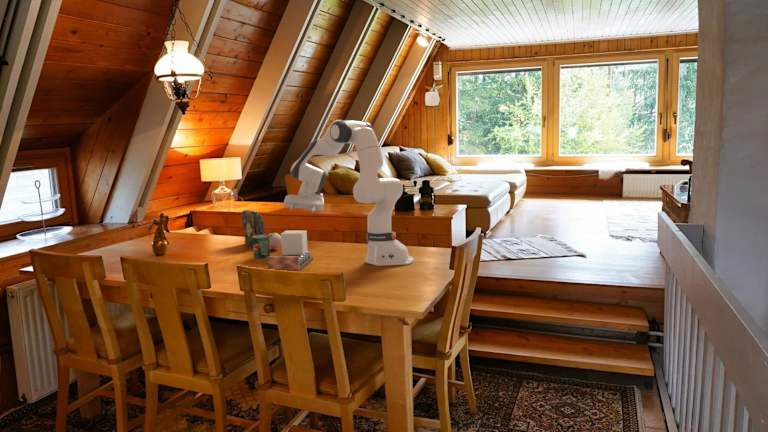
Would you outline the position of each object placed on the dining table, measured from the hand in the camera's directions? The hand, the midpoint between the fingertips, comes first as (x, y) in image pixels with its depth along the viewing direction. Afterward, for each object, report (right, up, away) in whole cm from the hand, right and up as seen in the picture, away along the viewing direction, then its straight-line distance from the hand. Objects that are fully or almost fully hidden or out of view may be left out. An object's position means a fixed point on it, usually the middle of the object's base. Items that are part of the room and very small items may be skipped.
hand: (302, 210), depth 291 cm
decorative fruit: (-17, -21, +15) cm, 31 cm away
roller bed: (-2, -26, -23) cm, 34 cm away
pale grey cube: (-1, -20, -16) cm, 26 cm away
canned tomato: (-19, -24, -3) cm, 31 cm away
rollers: (-2, -24, -21) cm, 32 cm away
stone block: (-30, -19, +27) cm, 45 cm away
